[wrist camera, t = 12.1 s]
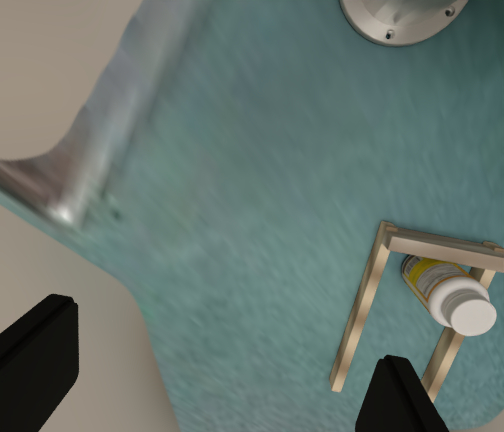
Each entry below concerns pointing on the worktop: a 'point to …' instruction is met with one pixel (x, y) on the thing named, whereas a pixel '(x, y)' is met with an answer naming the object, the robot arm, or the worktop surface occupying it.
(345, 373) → the wooden frame
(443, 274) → the supplement bottle
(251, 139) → the worktop surface
